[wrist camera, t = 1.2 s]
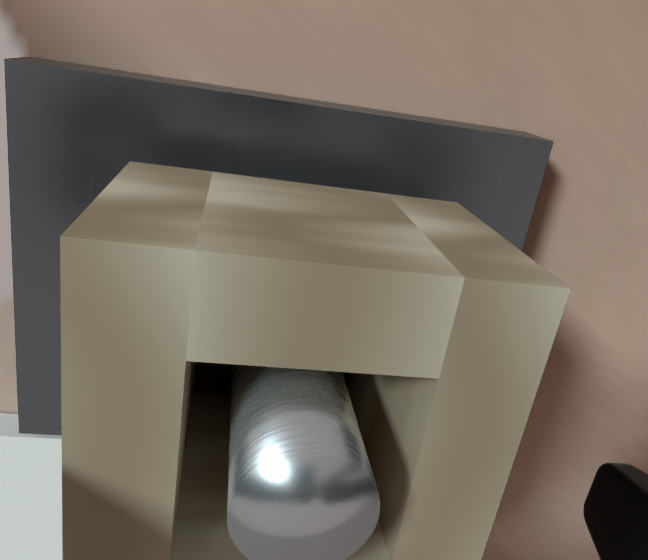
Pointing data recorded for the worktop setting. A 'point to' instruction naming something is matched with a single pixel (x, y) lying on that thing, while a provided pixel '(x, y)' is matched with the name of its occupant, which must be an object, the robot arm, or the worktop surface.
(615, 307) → the worktop surface
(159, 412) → the collar
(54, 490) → the tile pad
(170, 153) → the post stand
